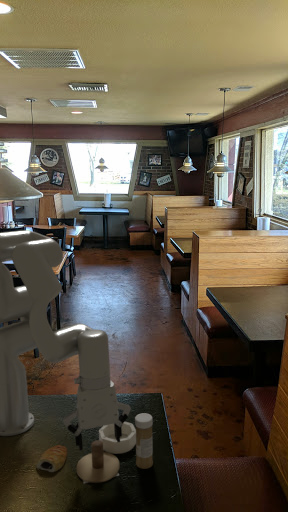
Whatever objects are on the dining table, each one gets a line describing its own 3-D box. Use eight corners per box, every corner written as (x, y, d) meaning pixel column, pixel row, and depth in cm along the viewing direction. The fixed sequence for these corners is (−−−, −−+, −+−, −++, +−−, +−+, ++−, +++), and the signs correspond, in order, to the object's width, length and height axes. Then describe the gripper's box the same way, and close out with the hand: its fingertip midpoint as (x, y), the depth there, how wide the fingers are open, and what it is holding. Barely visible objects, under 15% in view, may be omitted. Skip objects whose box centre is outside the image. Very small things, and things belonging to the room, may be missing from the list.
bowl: (104, 458, 112) (103, 444, 111) (97, 437, 121) (96, 424, 121) (139, 450, 115) (139, 437, 114) (130, 430, 124) (129, 418, 123)
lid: (80, 487, 100) (79, 461, 99) (73, 459, 111) (72, 436, 110) (124, 477, 104) (123, 452, 103) (113, 451, 114) (113, 428, 113)
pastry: (51, 449, 116) (50, 437, 116) (73, 453, 115) (73, 440, 114) (34, 471, 107) (34, 458, 107) (58, 475, 106) (58, 462, 105)
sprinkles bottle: (135, 459, 111) (134, 413, 109) (152, 458, 111) (151, 411, 109) (136, 470, 106) (135, 422, 104) (154, 469, 107) (153, 421, 105)
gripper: (61, 392, 97) (66, 459, 100) (132, 380, 102) (135, 444, 105) (58, 379, 104) (63, 442, 107) (124, 368, 109) (127, 428, 112)
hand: (99, 443), depth 106 cm, fingers open, 9 cm apart
